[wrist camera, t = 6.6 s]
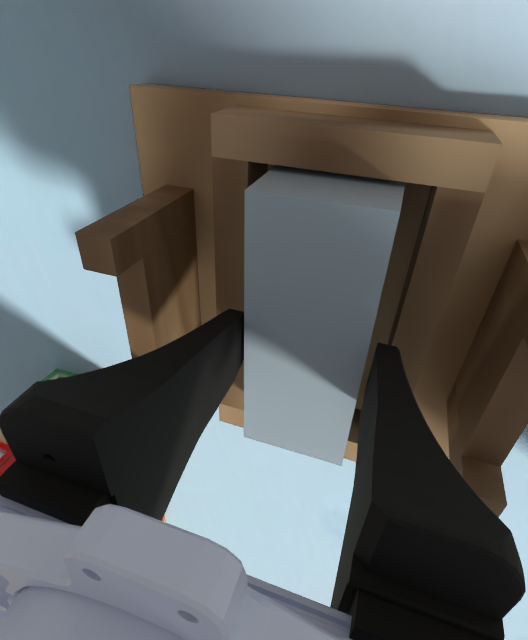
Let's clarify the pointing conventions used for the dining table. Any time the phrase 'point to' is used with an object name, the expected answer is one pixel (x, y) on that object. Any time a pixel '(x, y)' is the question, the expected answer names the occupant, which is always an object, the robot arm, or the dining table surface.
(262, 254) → the pale grey pillar block
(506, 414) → the jig
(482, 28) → the dining table surface
